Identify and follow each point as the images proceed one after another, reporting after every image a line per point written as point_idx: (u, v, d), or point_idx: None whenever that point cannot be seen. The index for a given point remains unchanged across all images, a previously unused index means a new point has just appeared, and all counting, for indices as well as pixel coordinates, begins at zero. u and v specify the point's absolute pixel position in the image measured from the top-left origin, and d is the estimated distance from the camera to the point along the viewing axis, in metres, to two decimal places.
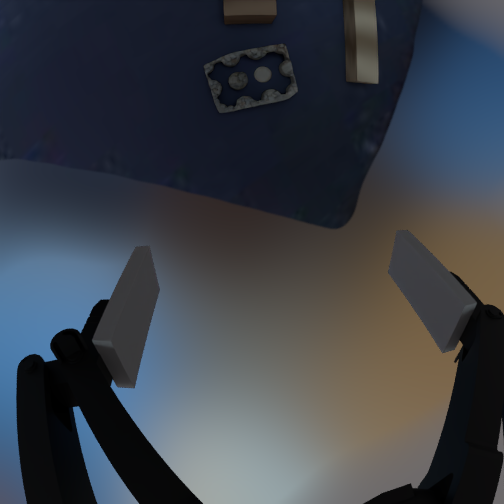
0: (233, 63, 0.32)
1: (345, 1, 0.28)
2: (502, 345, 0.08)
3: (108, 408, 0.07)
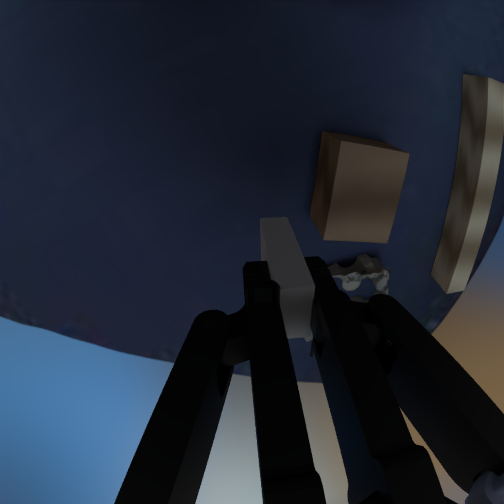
0: None
1: (459, 183, 0.26)
2: (360, 330, 0.09)
3: (277, 361, 0.08)
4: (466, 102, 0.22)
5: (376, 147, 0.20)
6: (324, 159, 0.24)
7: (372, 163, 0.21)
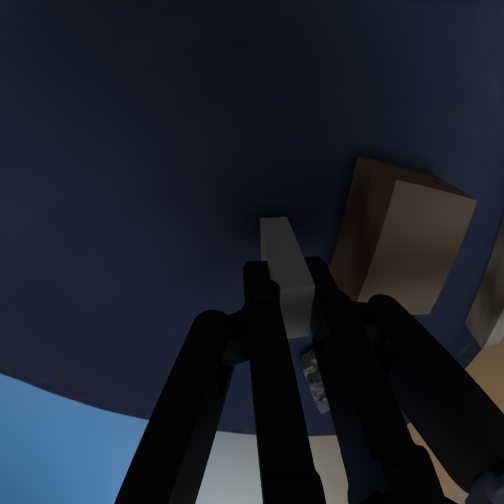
0: None
1: None
2: (360, 330, 0.09)
3: (278, 361, 0.08)
4: None
5: (440, 191, 0.13)
6: (359, 199, 0.16)
7: (432, 214, 0.14)
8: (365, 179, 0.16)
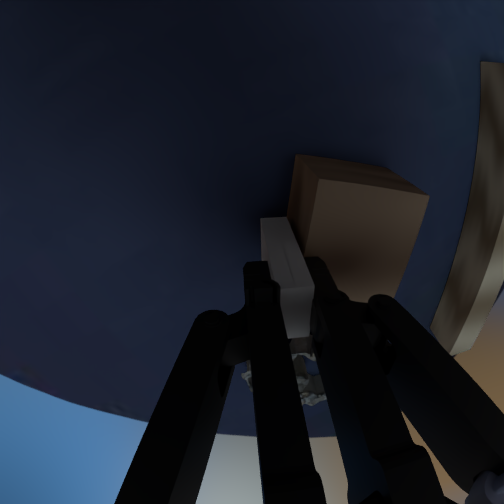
0: None
1: (474, 217, 0.18)
2: (360, 330, 0.09)
3: (278, 361, 0.08)
4: (487, 101, 0.14)
5: (378, 187, 0.13)
6: (296, 199, 0.16)
7: (370, 213, 0.13)
8: (300, 179, 0.16)
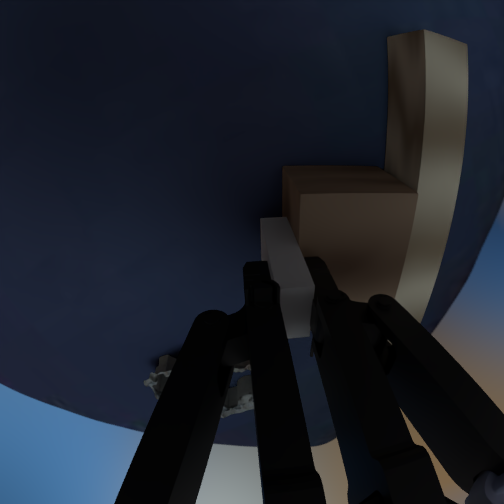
0: None
1: None
2: (360, 330, 0.09)
3: (278, 361, 0.08)
4: (394, 83, 0.14)
5: (363, 193, 0.13)
6: (287, 212, 0.17)
7: (358, 220, 0.14)
8: (287, 191, 0.16)
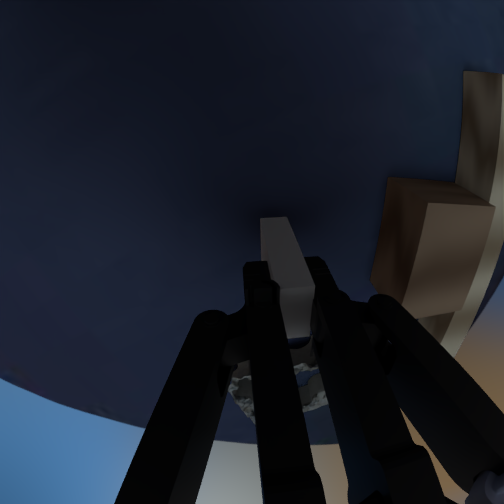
0: None
1: None
2: (360, 330, 0.09)
3: (277, 361, 0.08)
4: (469, 112, 0.15)
5: (464, 205, 0.14)
6: (394, 217, 0.18)
7: (459, 226, 0.15)
8: (398, 199, 0.17)
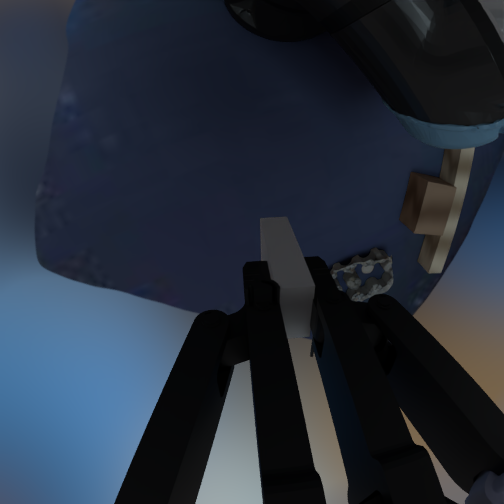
0: (352, 272, 0.45)
1: None
2: (360, 330, 0.09)
3: (277, 361, 0.08)
4: None
5: (442, 184, 0.36)
6: (413, 188, 0.40)
7: (440, 193, 0.37)
8: (415, 181, 0.39)
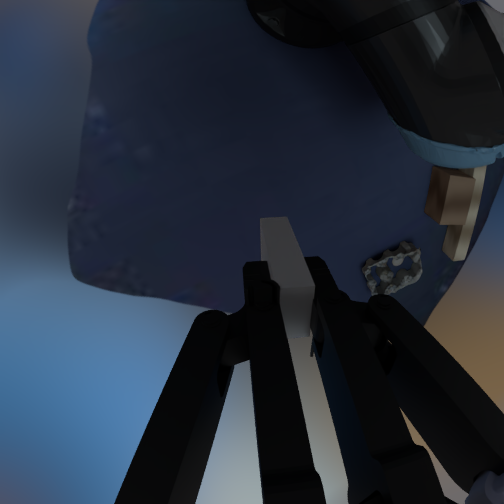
0: (384, 266, 0.46)
1: None
2: (360, 330, 0.09)
3: (277, 361, 0.08)
4: None
5: (463, 177, 0.37)
6: (436, 182, 0.40)
7: (461, 185, 0.37)
8: (437, 174, 0.40)
